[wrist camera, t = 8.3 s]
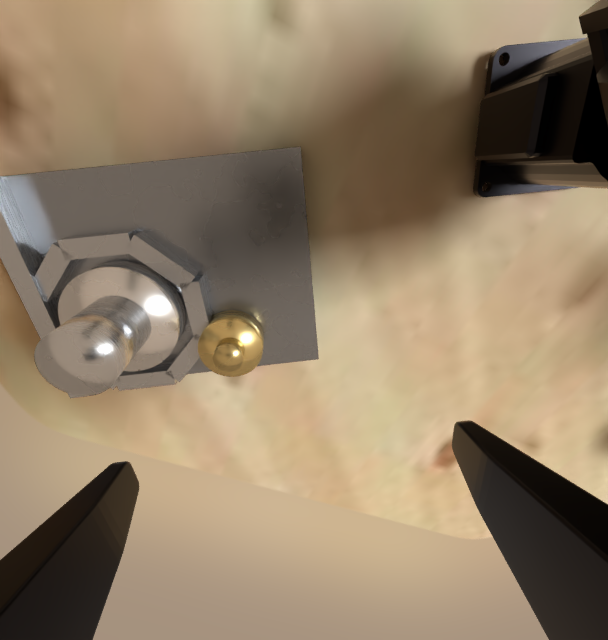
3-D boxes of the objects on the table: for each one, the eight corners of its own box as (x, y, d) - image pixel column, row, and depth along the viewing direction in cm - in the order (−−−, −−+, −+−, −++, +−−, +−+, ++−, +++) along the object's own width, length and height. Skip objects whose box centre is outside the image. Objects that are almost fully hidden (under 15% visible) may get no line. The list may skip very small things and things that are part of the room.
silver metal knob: (170, 255, 17) (125, 289, 12) (196, 351, 20) (167, 412, 15) (56, 267, 17) (-35, 306, 12) (97, 362, 20) (35, 427, 15)
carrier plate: (299, 147, 16) (304, 142, 13) (316, 351, 22) (323, 382, 18) (0, 177, 16) (-68, 179, 13) (89, 376, 21) (56, 413, 18)
